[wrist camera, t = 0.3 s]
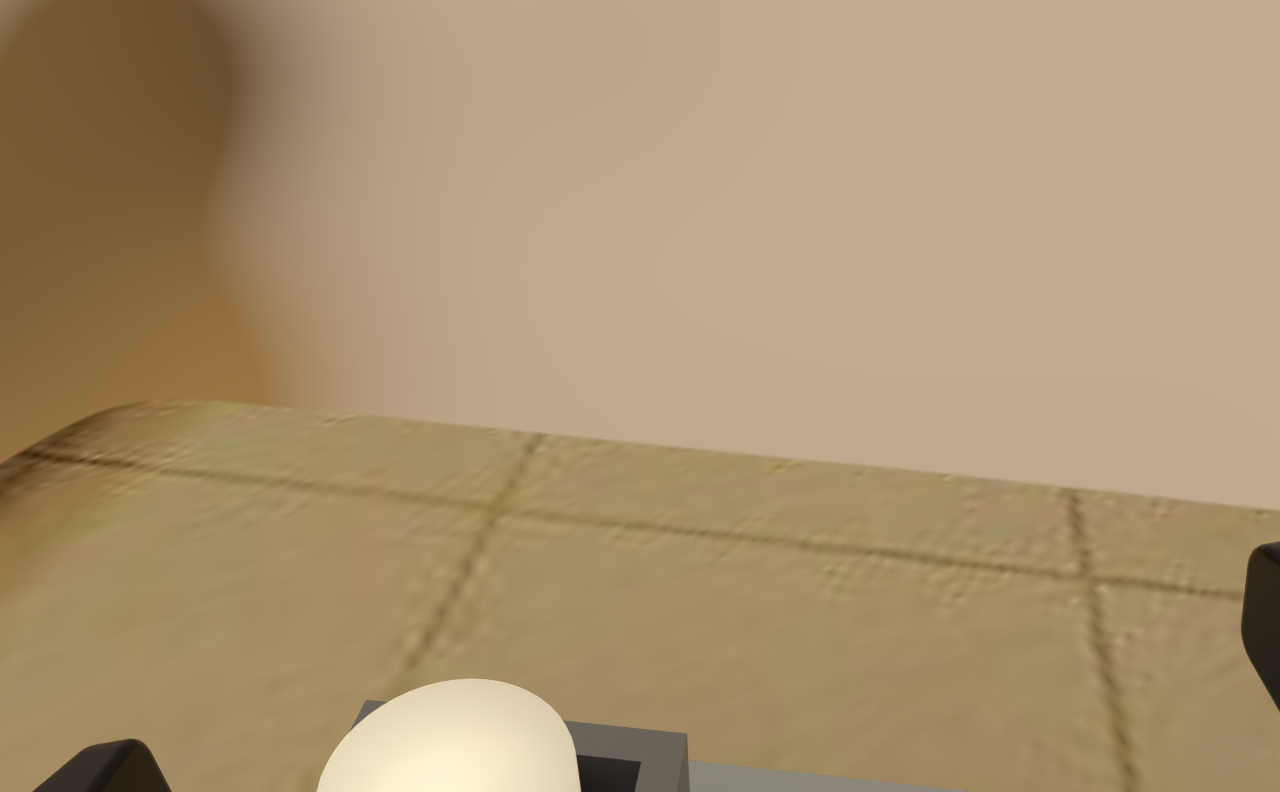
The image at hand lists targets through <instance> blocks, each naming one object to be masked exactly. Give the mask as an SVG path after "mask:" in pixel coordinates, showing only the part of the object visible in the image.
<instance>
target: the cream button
mask: <svg viewBox="0 0 1280 792" xmlns="http://www.w3.org/2000/svg"><path fill="white" fill-rule="evenodd" d="M317 792H581V787H580V780H579V773H578V766H577V759H576V751H575V747H574V744H573V740H572V737H571V735H570V733H569V731H568V729H567V727H566V725H565V723H564V722H563V720H562V719H561V718H560V716H559V715H558V714H557V713H556V712H555V711H554V709H553V708H552V707H551V706H550V705H548V704H547V703H546V702H545V701H543V700H542V699H541V698H539V697H538V696H536V695H534V694H532V693H531V692H529V691H527V690H525V689H522V688H520V687H517V686H515V685H511V684H508V683H504V682H500V681H493V680H487V679H458V680H450V681H444V682H439V683H435V684H431V685H427V686H423V687H421V688H418V689H415V690H412V691H409V692H407V693H405V694H403V695H401V696H398V697H396V698H394V699H393V700H391V701H389V702H387V703H386V704H384V705H382V706H381V707H379V708H378V709H376V710H375V711H373V712H372V713H371V714H369V715H368V716H367V717H365V718H364V719H363V720H362V721H361V722H360V723H358V724H357V725H356V726H355V727H354V728H353V729H352V730H351V731H350V732H349V733H348V734H347V736H346V737H345V738H344V739H343V740H342V742H341V743H340V744H339V745H338V747H337V748H336V749H335V751H334V753H333V754H332V756H331V758H330V759H329V761H328V763H327V765H326V767H325V769H324V771H323V774H322V776H321V778H320V782H319V785H318V789H317Z"/></svg>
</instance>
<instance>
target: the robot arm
mask: <svg viewBox="0 0 1280 792" xmlns="http://www.w3.org/2000/svg"><path fill="white" fill-rule="evenodd" d="M1241 634H1242V640H1243V644H1244V647H1245V650H1246V653H1247V655H1248V657H1249V659H1250V661H1251V663H1252V664H1253V666H1254V668H1255V670H1256V671H1257V673H1258V675H1259V677H1260V678H1261V680H1262V682H1263V684H1264V685H1265V687H1266V689H1267V691H1268V692H1269V694H1270V696H1271V698H1272V699H1273V701H1274V703H1275V704H1276V706H1277V708H1278V710H1279V711H1280V541H1279V542H1274V543H1268V544H1263V545H1260V546H1258V547H1257V548H1255V549H1254V550H1253V551H1252V553H1251V555H1250V557H1249V561H1248V566H1247V575H1246V584H1245V593H1244V602H1243V611H1242V620H1241ZM33 792H172V791H171V789H170V787H169V786H168V784H167V782H166V780H165V778H164V776H163V774H162V772H161V770H160V768H159V766H158V764H157V762H156V761H155V759H154V757H153V755H152V753H151V751H150V750H149V748H148V747H147V745H145V744H144V743H143V742H142V741H140V740H137V739H125V740H119V741H113V742H108V743H102V744H96V745H93V746H89V747H87V748H85V749H83V750H82V751H81V752H79V753H78V754H77V755H76V756H74V757H73V758H72V759H71V760H70V761H68V762H67V763H66V764H65V765H64V766H62V767H61V768H60V769H59V770H58V771H56V772H55V773H54V774H53V775H52V776H51V777H49V778H48V779H47V780H46V781H45V782H43V783H42V784H41V785H40V786H39V787H37V788H36V789H35V790H34V791H33Z"/></svg>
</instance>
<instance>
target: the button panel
mask: <svg viewBox="0 0 1280 792" xmlns="http://www.w3.org/2000/svg"><path fill="white" fill-rule="evenodd" d="M386 703H387V702H381V701H372V700H366V701H365V703H364V705H363V707H362V709H361V711H360V713H359V715H358V717H357V719H356V721H355V722H354V724H353V726H352V728H351V730H352V729H353V728H354V727H355V726H356V725H357V724H358V723H360V722H361V721H362V720H363V719H364V718H365V717H367V716H368V715H369V714H371V713H372V712H373V711H375V710H376V709H378V708H379V707H381V706H382V705H384V704H386ZM563 722H564V723H565V725H566V727H567V729H568V731H569V733H570V735H571V737H572V740H573V744H574V747H575V751H576V759H577V766H578V773H579V780H580V787H581V792H970V791H961V790H952V789H943V788H934V787H924V786H915V785H906V784H897V783H888V782H879V781H870V780H861V779H852V778H843V777H834V776H825V775H815V774H806V773H797V772H788V771H779V770H770V769H761V768H752V767H743V766H734V765H725V764H716V763H706V762H697V761H688V746H687V734H685V733H675V732H666V731H657V730H647V729H638V728H628V727H619V726H609V725H600V724H590V723H581V722H571V721H563ZM351 730H350V731H351Z"/></svg>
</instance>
